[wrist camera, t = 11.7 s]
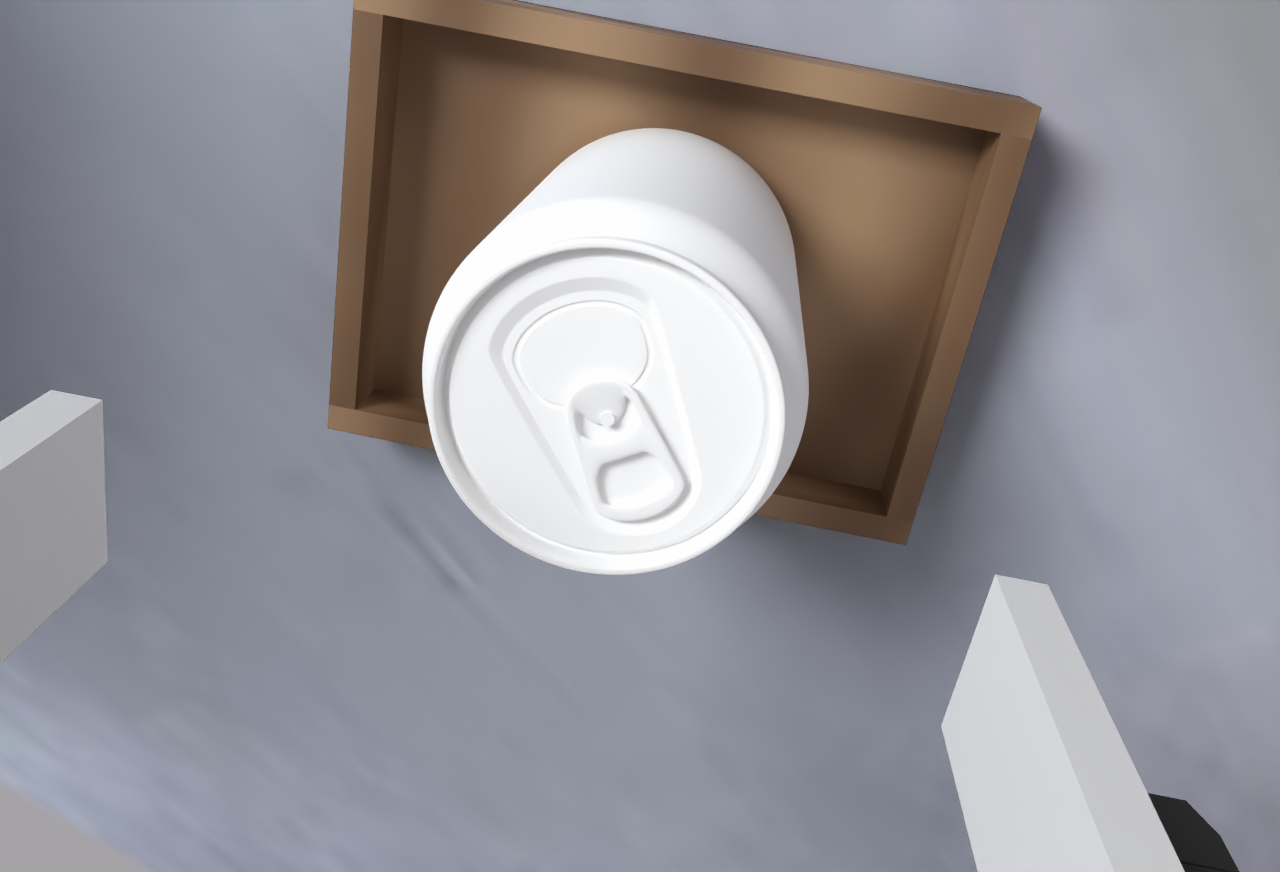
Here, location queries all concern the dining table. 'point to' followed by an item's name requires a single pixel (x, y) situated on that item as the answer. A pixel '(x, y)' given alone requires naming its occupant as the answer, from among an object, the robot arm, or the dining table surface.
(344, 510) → the dining table surface
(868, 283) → the walnut tray
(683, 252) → the beverage can
